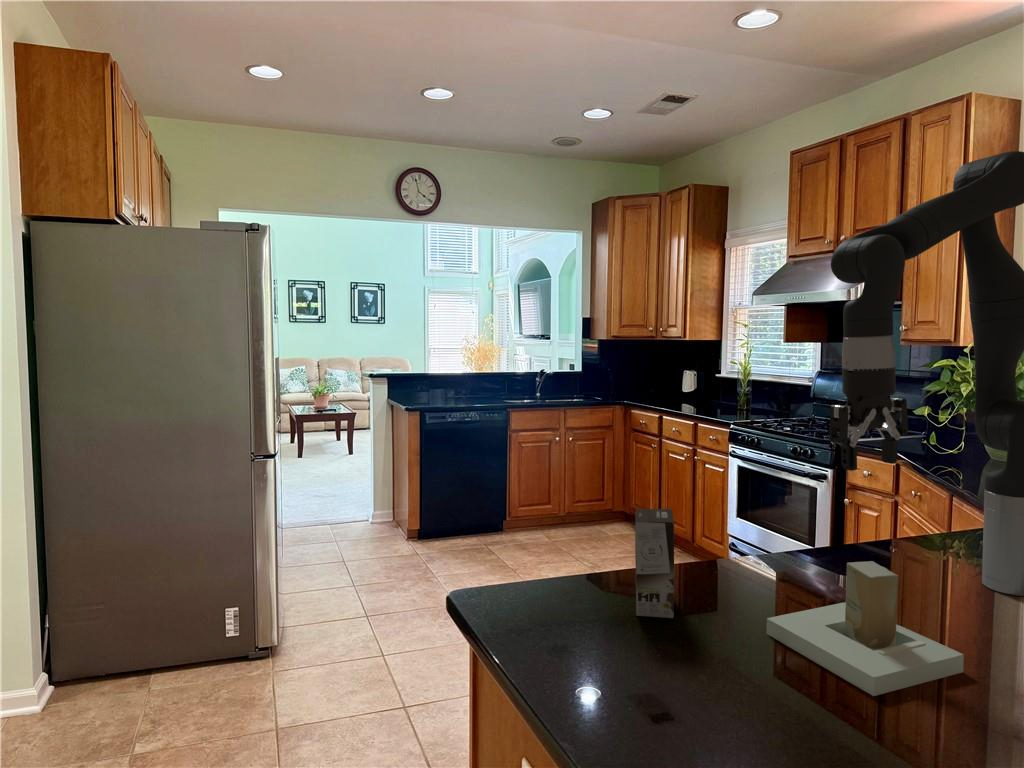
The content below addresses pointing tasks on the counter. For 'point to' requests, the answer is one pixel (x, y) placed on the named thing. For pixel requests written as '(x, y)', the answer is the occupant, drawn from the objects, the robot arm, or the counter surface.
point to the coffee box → (654, 562)
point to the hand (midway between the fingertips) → (869, 466)
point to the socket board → (864, 651)
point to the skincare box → (871, 605)
